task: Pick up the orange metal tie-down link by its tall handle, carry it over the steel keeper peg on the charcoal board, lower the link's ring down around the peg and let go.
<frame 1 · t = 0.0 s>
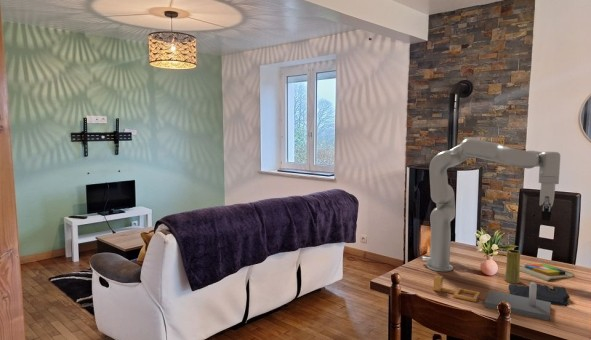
hand: (546, 218, 181), 31 cm above the table, tool pointing down, fingers open, 9 cm apart
vase: (512, 281, 191), on the table
dark slate chunk: (537, 297, 174), on the table
wooden puzzle: (544, 274, 201), on the table
keeper board: (517, 306, 163), on the table
link: (466, 296, 173), on the table
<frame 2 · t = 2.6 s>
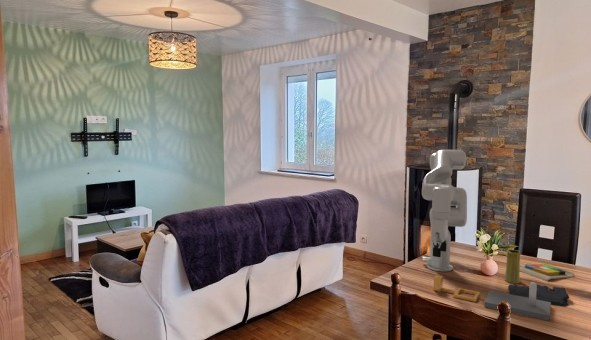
hand: (439, 253, 178), 16 cm above the table, tool pointing down, fingers open, 9 cm apart
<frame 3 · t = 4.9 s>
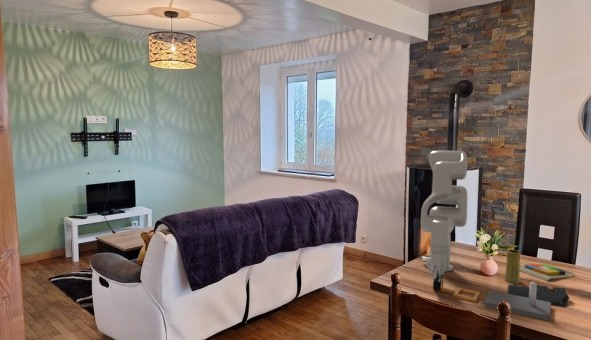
hand: (438, 288, 180), 1 cm above the table, tool pointing down, fingers closed on link, 3 cm apart
link: (466, 296, 173), on the table, touching gripper
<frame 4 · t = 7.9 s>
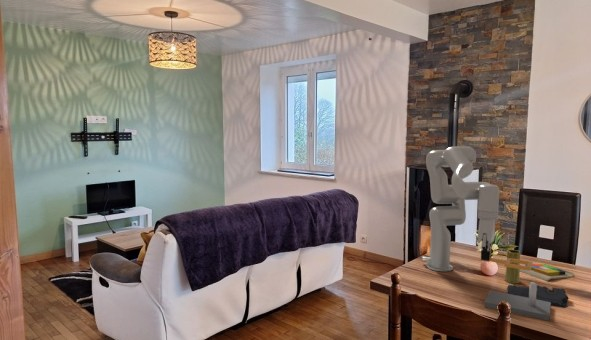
hand: (486, 258, 168), 18 cm above the table, tool pointing down, fingers closed on link, 3 cm apart
link: (518, 265, 161), point 17 cm above the table, touching gripper
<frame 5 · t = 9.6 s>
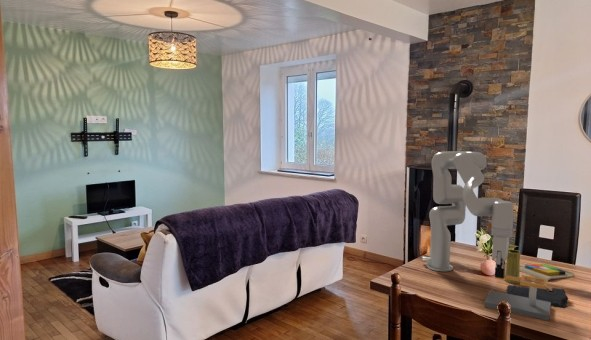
hand: (499, 275, 165), 11 cm above the table, tool pointing down, fingers closed on link, 3 cm apart
link: (533, 283, 159), point 11 cm above the table, touching gripper
when the fingers open (4 cm above the table, at t = 11.1 s): link drops 1 cm, resting on keeper board.
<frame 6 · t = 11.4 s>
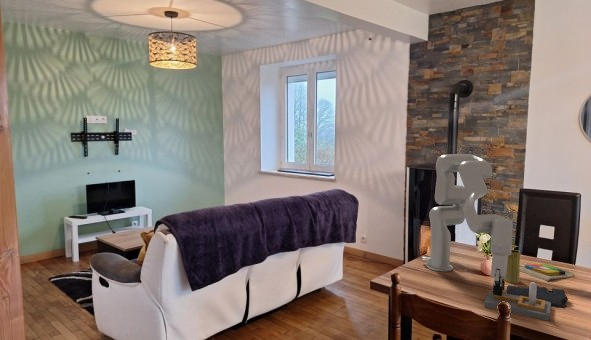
hand: (498, 291, 166), 5 cm above the table, tool pointing down, fingers open, 6 cm apart
link: (531, 304, 160), point 2 cm above the table, touching keeper board
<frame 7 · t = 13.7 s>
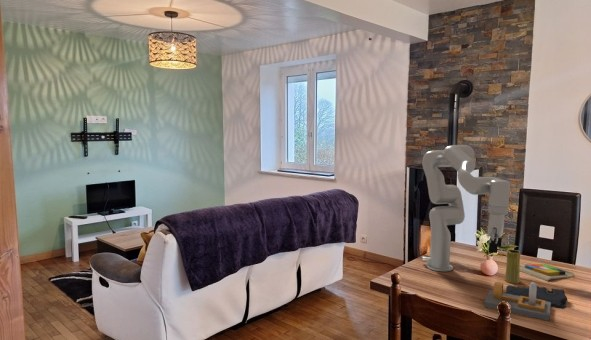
hand: (494, 249, 172), 20 cm above the table, tool pointing down, fingers open, 9 cm apart
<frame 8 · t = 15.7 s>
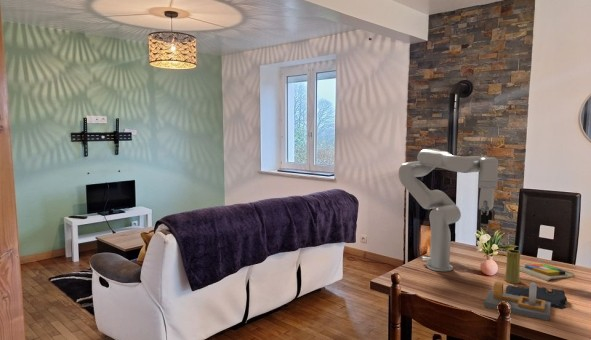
hand: (486, 221, 187), 28 cm above the table, tool pointing down, fingers open, 9 cm apart
at the end: link 0.2 cm from the target spot on the keeper board, point 2.0 cm above the keeper board's base; the gripper is holding nothing; link tilted 0° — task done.
